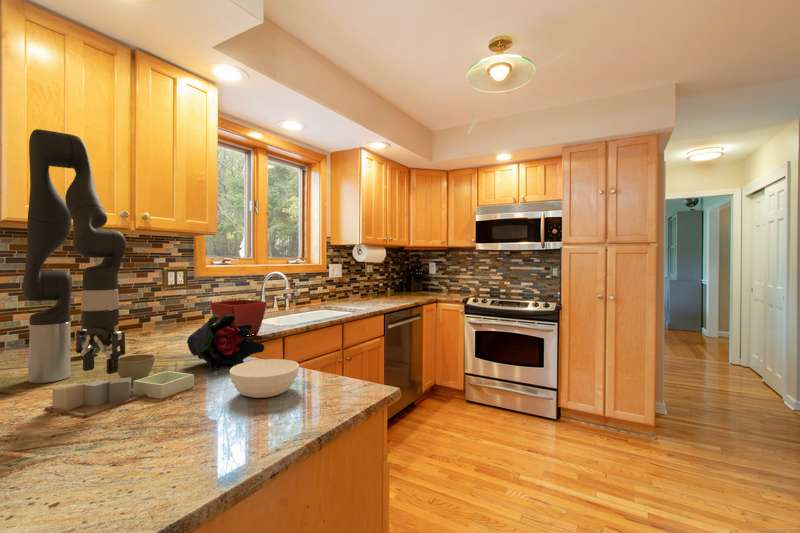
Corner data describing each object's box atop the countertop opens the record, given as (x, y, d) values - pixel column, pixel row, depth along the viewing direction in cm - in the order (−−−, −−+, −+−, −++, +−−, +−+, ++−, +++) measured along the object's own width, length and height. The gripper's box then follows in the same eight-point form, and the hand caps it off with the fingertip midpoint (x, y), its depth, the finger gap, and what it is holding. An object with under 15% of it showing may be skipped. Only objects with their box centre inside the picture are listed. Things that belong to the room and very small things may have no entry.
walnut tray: (44, 411, 90) (44, 407, 90) (113, 390, 105) (113, 387, 105) (85, 419, 86) (85, 415, 86) (150, 396, 101) (150, 392, 101)
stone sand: (52, 409, 90) (52, 388, 90) (69, 403, 94) (69, 383, 94) (66, 410, 90) (66, 389, 90) (83, 404, 93) (83, 384, 93)
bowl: (312, 388, 110) (312, 363, 110) (265, 410, 93) (265, 380, 93) (264, 379, 117) (265, 356, 117) (214, 398, 101) (214, 371, 101)
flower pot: (134, 388, 108) (134, 363, 108) (105, 385, 110) (105, 360, 110) (162, 377, 117) (162, 355, 117) (135, 375, 119) (136, 353, 119)
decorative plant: (228, 382, 142) (276, 375, 126) (156, 368, 125) (202, 357, 108) (241, 330, 152) (288, 316, 136) (176, 310, 134) (221, 291, 118)
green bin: (133, 395, 101) (133, 381, 101) (166, 384, 111) (166, 370, 111) (161, 400, 98) (161, 385, 98) (193, 388, 108) (193, 374, 108)
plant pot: (232, 341, 173) (232, 304, 173) (209, 336, 183) (209, 302, 183) (267, 335, 189) (267, 301, 189) (244, 331, 199) (244, 299, 199)
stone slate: (82, 404, 94) (82, 384, 94) (99, 398, 97) (99, 379, 97) (94, 406, 92) (94, 386, 92) (110, 400, 96) (110, 381, 96)
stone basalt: (109, 403, 94) (109, 383, 94) (112, 398, 98) (112, 379, 98) (128, 400, 96) (128, 381, 96) (131, 396, 100) (131, 377, 100)
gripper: (64, 308, 94) (64, 373, 94) (104, 310, 89) (104, 378, 89) (96, 305, 101) (96, 365, 101) (135, 307, 96) (135, 370, 96)
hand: (100, 371), depth 95 cm, fingers open, 8 cm apart
